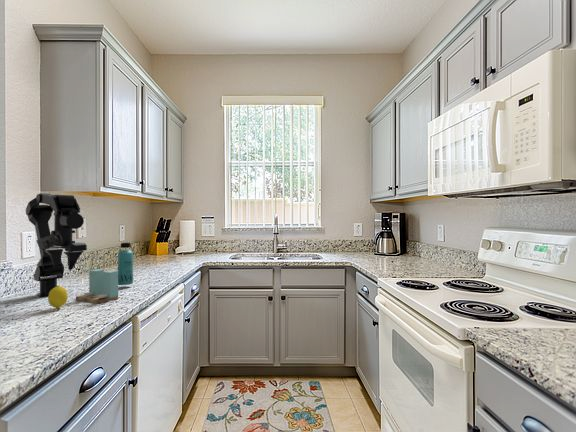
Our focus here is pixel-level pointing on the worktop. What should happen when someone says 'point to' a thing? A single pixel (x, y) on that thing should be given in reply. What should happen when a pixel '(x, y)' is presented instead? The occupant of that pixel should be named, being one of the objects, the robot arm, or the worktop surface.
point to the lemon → (57, 297)
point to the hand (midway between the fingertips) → (63, 268)
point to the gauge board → (95, 298)
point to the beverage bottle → (125, 265)
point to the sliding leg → (96, 282)
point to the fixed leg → (110, 284)
